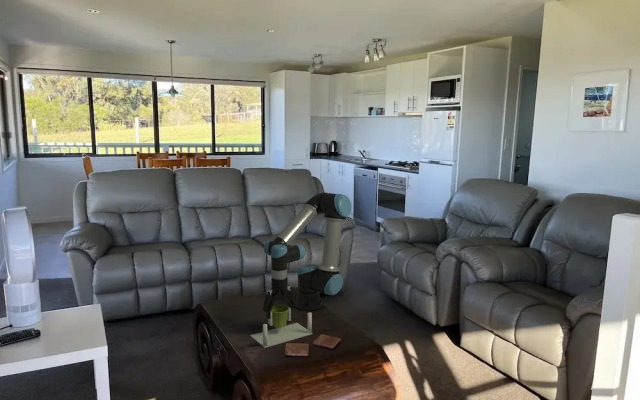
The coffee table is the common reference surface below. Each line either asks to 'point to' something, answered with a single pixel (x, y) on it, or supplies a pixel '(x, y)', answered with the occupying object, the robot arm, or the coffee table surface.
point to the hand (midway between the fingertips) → (279, 322)
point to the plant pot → (279, 315)
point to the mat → (282, 333)
